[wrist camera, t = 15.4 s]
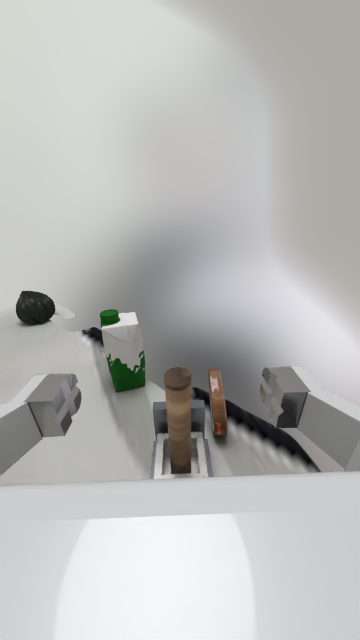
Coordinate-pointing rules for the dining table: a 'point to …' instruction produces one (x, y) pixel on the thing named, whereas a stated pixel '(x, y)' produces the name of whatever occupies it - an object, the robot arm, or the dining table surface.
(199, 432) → the bracket
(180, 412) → the brown wooden rod
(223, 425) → the tin
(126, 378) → the milk carton
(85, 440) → the dining table surface
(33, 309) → the squash
